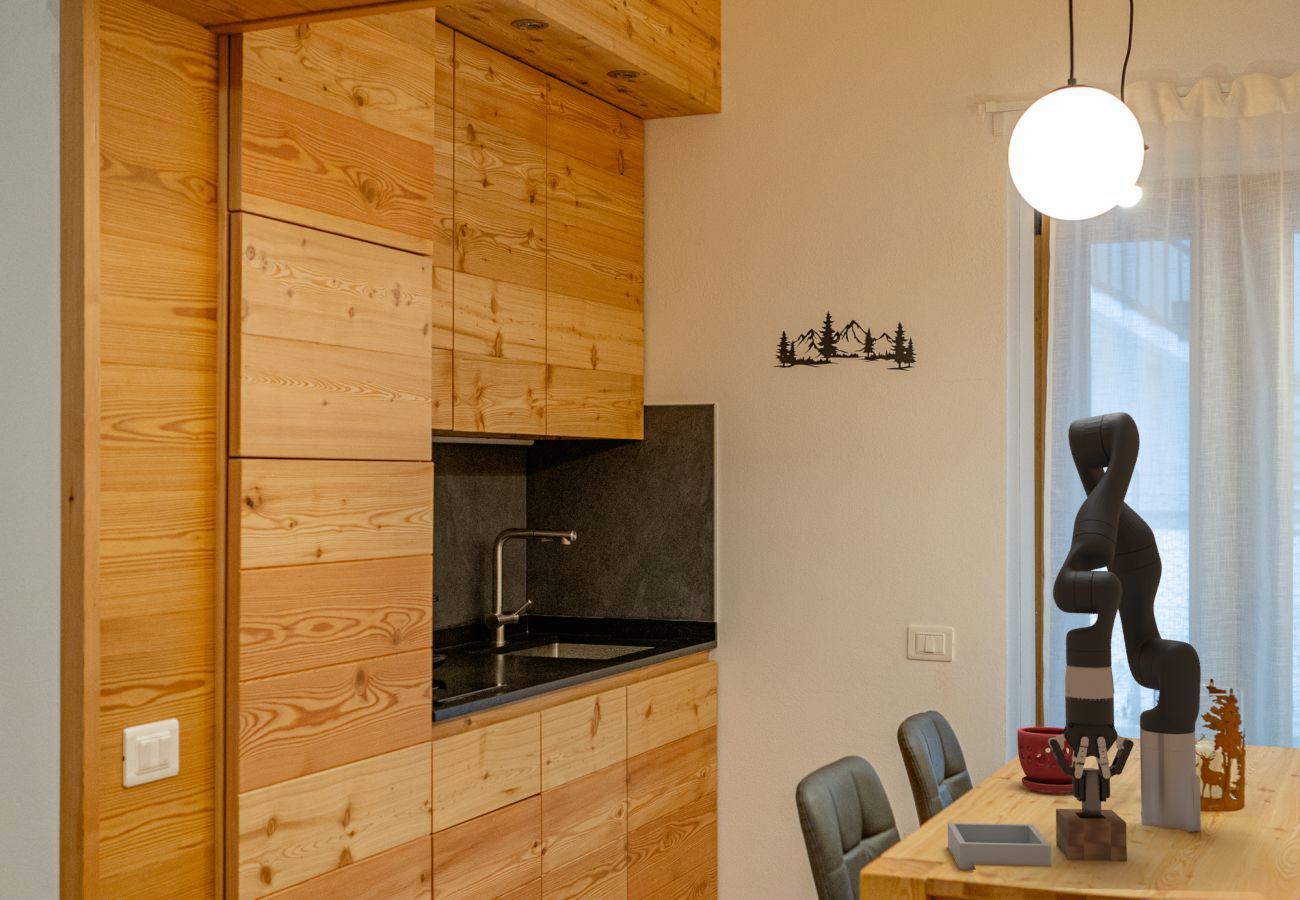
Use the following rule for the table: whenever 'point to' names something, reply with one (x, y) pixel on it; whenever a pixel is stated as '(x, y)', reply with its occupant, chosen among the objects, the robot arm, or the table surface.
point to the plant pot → (1043, 760)
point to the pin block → (1091, 836)
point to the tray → (997, 844)
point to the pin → (1091, 793)
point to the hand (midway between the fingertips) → (1091, 800)
